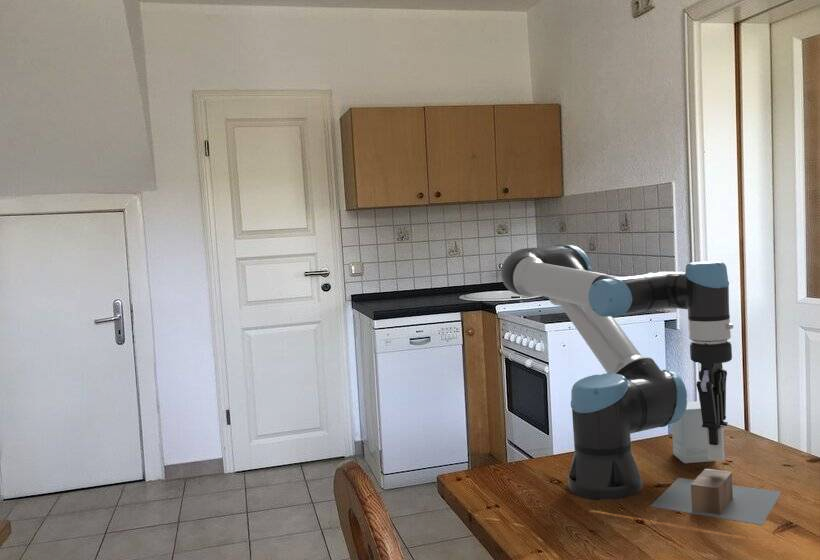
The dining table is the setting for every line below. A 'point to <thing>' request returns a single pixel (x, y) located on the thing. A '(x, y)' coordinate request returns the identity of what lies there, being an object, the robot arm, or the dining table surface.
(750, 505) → the rubber mat
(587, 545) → the dining table surface
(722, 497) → the walnut block
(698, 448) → the supplement box
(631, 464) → the robot arm
